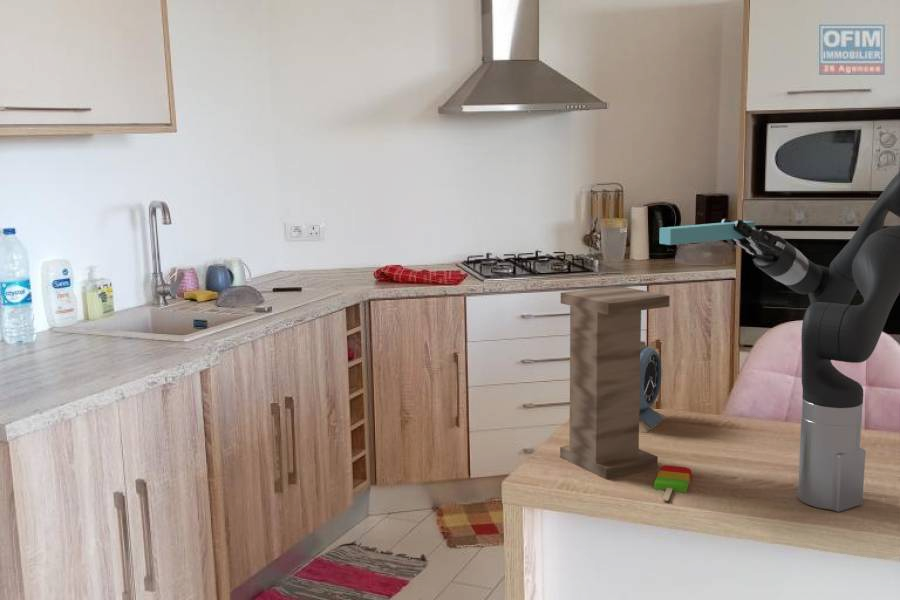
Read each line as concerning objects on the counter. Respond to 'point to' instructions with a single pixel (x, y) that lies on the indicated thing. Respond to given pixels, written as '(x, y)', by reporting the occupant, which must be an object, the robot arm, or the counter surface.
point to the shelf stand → (607, 379)
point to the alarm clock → (649, 387)
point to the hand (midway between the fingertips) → (729, 223)
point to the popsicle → (672, 480)
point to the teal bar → (699, 233)
